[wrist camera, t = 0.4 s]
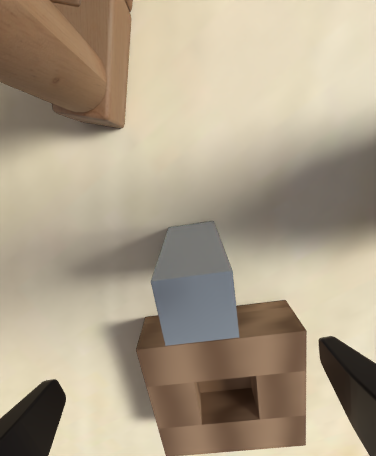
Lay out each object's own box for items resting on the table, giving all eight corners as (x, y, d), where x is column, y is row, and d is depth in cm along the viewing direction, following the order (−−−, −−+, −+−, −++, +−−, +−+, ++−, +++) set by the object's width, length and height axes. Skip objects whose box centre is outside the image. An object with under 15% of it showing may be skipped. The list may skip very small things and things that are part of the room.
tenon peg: (213, 221, 19) (232, 270, 10) (218, 262, 20) (239, 337, 12) (168, 227, 19) (150, 281, 11) (176, 267, 20) (165, 345, 12)
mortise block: (285, 300, 21) (306, 330, 17) (288, 402, 25) (305, 445, 22) (145, 317, 22) (136, 350, 18) (169, 413, 26) (166, 456, 22)
